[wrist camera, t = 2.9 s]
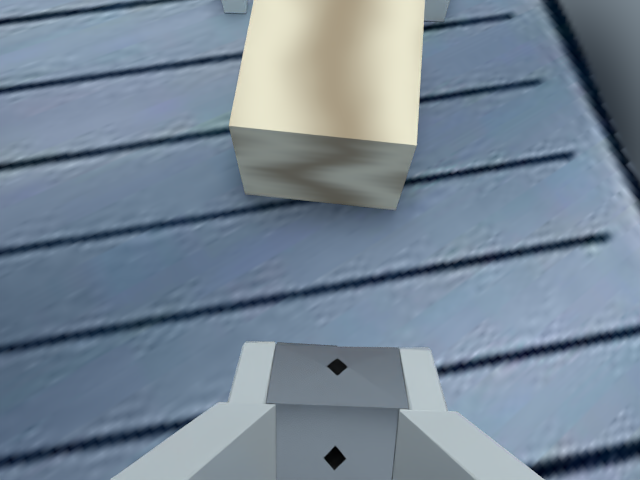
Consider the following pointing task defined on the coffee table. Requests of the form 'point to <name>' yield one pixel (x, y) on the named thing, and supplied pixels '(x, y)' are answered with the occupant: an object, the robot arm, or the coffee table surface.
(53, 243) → the coffee table surface
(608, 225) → the coffee table surface
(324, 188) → the wooden block
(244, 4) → the dock
